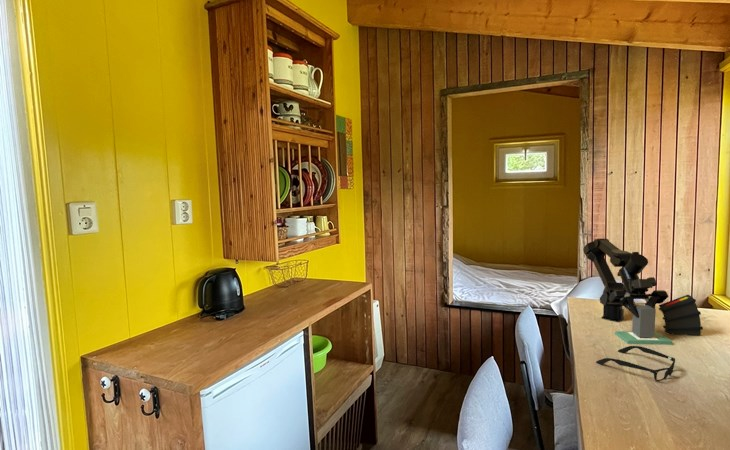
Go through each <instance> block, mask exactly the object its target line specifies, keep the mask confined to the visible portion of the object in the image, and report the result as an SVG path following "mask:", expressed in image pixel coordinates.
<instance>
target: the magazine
mask: <svg viewBox="0 0 730 450" xmlns="http://www.w3.org/2000/svg"><path fill="white" fill-rule="evenodd" d="M696 302H697V299H696V298H694V297H693V296H692V295H690V294H686V295H682V296H680V297H678V298H675V299H672V300H670V301H667V302H663V303H660V304H659V305H658V306H659V307H658V310H659V311H660V312H662V315H663V316H662V319H663V321H664V325H663V329H664V332H665V333H666V334H667V335H671V336H673V335H676V336H696V337H697V336H699V337H701V336H702V333H701V331H703V330H704V327H703V326H702V325H701V317H700V316H701V315H702V313H701V311H699V309H698V305H697V304H696Z"/></svg>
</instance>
